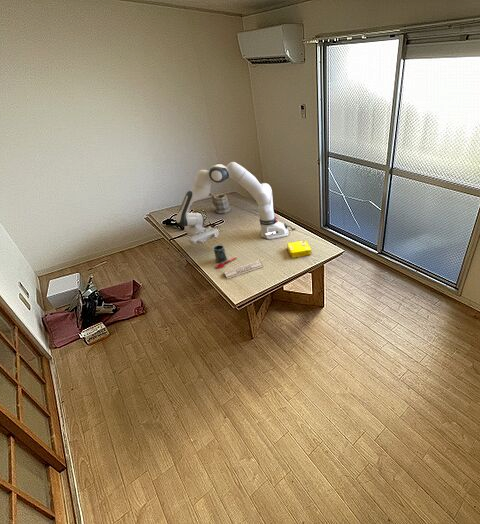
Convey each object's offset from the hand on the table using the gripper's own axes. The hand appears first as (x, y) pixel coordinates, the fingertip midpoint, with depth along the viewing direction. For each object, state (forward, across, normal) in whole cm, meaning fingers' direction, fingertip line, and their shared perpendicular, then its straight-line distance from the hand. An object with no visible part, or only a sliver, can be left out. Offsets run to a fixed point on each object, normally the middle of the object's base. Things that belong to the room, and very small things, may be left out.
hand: (210, 240), depth 196 cm
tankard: (-64, +46, +10) cm, 79 cm away
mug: (+14, -2, +11) cm, 18 cm away
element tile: (+46, +40, +11) cm, 62 cm away
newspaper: (+34, 0, +11) cm, 36 cm away
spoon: (+19, -2, +10) cm, 21 cm away
